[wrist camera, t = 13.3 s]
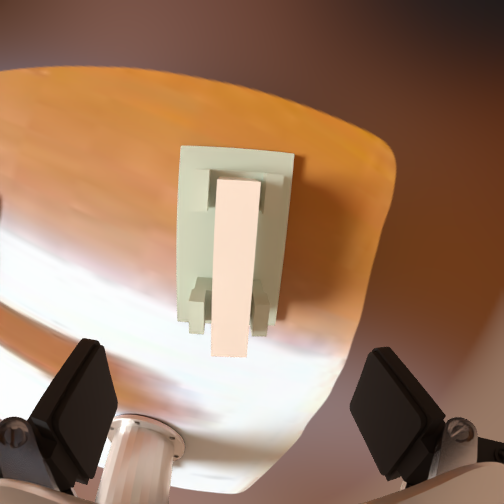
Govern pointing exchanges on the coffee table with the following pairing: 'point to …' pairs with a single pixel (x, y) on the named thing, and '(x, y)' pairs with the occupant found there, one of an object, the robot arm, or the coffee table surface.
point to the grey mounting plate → (203, 221)
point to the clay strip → (233, 264)
